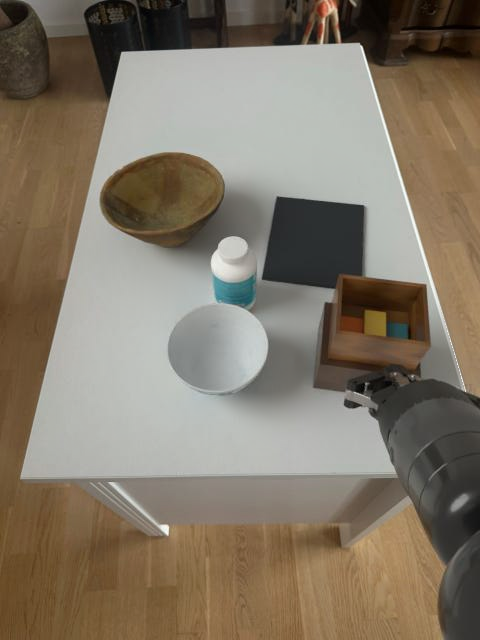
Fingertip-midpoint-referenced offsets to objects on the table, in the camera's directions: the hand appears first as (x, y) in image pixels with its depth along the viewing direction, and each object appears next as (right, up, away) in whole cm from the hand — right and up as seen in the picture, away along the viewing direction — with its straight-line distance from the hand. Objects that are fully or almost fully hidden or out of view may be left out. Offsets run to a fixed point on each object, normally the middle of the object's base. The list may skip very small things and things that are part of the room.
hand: (393, 372), depth 49 cm
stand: (+2, -1, +23) cm, 23 cm away
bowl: (-31, +24, +40) cm, 56 cm away
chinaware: (-20, -2, +23) cm, 31 cm away
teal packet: (+5, +4, +15) cm, 17 cm away
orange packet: (0, +4, +16) cm, 17 cm away
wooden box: (+2, +4, +16) cm, 17 cm away
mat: (-2, +21, +37) cm, 43 cm away
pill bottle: (-18, +9, +30) cm, 36 cm away
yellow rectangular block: (+2, +5, +15) cm, 16 cm away
